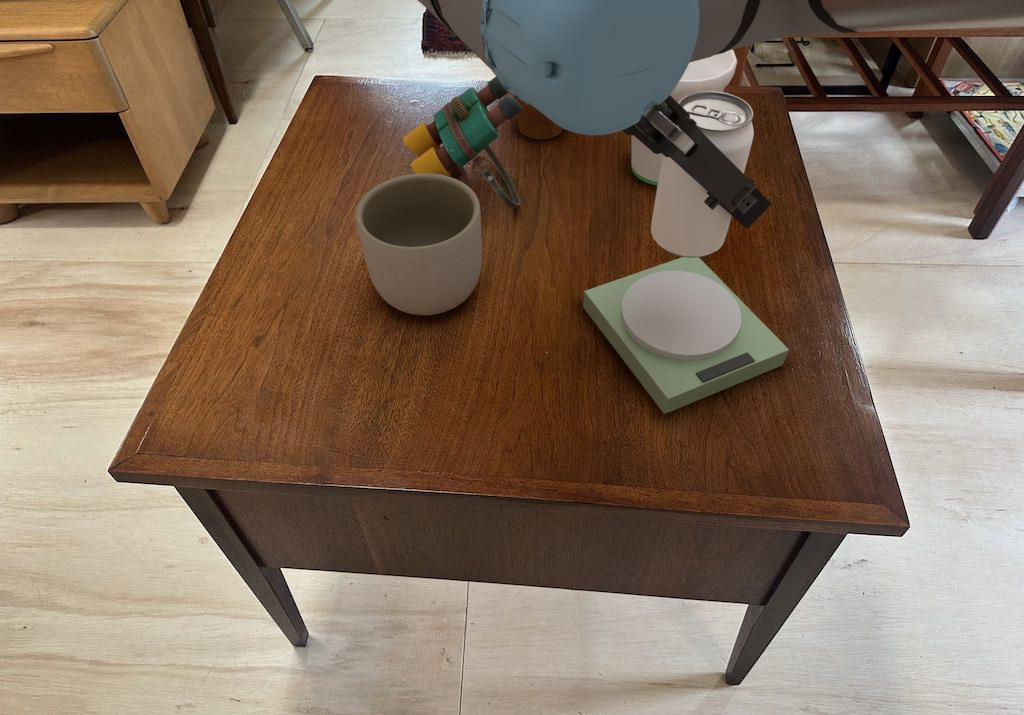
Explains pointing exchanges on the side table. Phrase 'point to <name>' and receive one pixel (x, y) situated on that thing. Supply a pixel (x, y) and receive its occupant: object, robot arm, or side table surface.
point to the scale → (683, 331)
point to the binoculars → (466, 137)
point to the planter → (421, 241)
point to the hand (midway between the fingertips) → (729, 190)
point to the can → (680, 198)
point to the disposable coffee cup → (536, 123)
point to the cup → (695, 79)
